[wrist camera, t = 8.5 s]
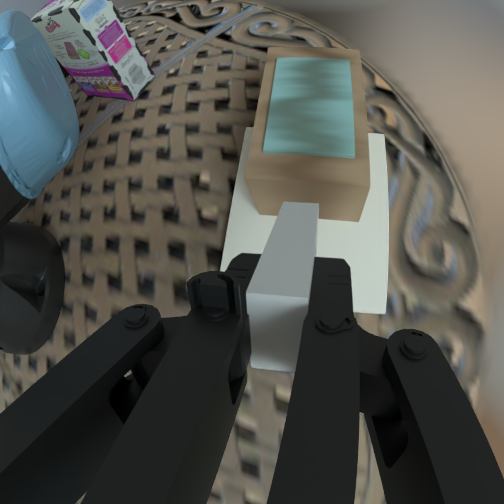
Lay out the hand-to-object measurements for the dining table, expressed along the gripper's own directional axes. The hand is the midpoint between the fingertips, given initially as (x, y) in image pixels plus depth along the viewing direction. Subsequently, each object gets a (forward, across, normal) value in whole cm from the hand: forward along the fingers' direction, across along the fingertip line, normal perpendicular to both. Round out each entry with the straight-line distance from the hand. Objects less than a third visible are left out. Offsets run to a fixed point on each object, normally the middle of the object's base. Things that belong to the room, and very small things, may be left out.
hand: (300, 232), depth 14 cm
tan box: (+9, 0, -2) cm, 9 cm away
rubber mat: (+12, 0, -4) cm, 13 cm away
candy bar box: (+25, -26, +10) cm, 37 cm away
